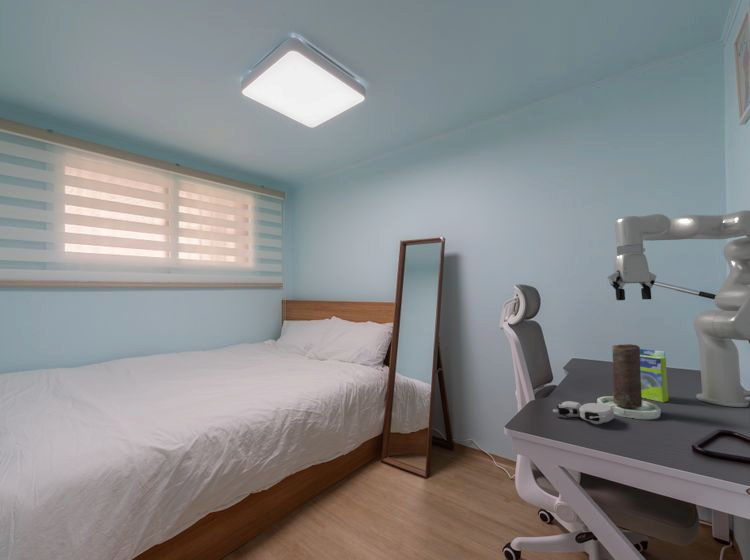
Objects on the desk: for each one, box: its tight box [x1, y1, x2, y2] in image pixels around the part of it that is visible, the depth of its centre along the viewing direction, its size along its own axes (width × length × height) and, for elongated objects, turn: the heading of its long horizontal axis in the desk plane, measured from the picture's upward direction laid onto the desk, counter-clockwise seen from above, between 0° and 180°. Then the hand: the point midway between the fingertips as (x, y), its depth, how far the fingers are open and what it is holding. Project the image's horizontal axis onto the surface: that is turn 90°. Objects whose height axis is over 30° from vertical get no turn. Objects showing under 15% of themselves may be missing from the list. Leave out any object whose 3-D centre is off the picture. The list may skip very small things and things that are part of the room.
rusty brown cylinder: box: [612, 343, 643, 408], centre depth 108 cm, size 8×7×20 cm
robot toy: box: [552, 400, 615, 426], centre depth 101 cm, size 12×4×15 cm
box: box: [640, 348, 669, 403], centre depth 121 cm, size 10×4×17 cm, turn 28°
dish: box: [596, 395, 662, 421], centre depth 107 cm, size 16×16×2 cm
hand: (633, 299), depth 117 cm, fingers open, 9 cm apart
